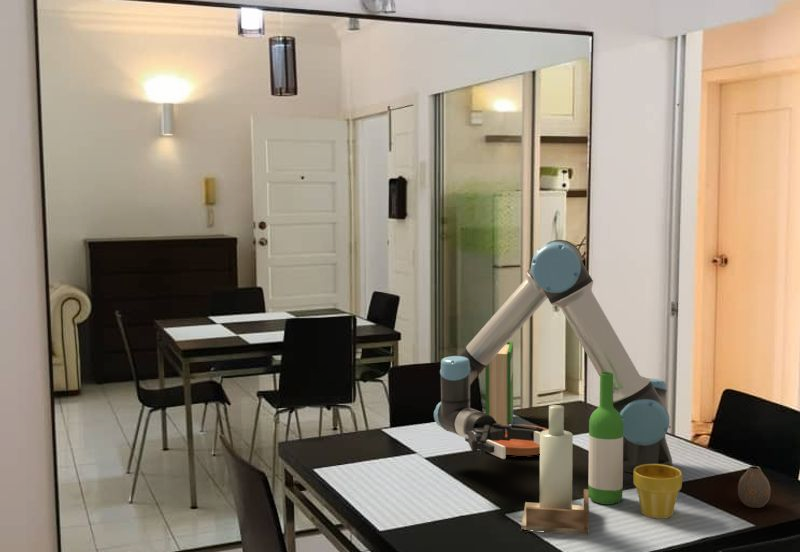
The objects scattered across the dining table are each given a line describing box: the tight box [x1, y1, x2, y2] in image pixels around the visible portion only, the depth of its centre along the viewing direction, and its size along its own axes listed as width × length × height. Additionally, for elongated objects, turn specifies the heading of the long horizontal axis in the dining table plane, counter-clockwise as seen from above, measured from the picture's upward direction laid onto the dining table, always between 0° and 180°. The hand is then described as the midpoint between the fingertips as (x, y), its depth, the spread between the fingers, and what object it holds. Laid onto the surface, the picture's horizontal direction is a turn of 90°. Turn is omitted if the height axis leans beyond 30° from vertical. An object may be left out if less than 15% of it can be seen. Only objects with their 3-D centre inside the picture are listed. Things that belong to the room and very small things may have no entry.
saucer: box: [492, 424, 549, 457], centre depth 248 cm, size 23×23×4 cm
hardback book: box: [484, 341, 514, 425], centre depth 272 cm, size 18×7×24 cm, turn 170°
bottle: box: [539, 404, 574, 509], centre depth 192 cm, size 7×7×24 cm
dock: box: [521, 488, 590, 536], centre depth 193 cm, size 14×14×5 cm
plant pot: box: [632, 464, 683, 519], centre depth 196 cm, size 10×10×10 cm
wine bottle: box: [588, 372, 624, 505], centre depth 204 cm, size 8×8×30 cm
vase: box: [737, 465, 772, 509], centre depth 201 cm, size 7×7×9 cm
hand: (528, 448), depth 200 cm, fingers open, 13 cm apart
